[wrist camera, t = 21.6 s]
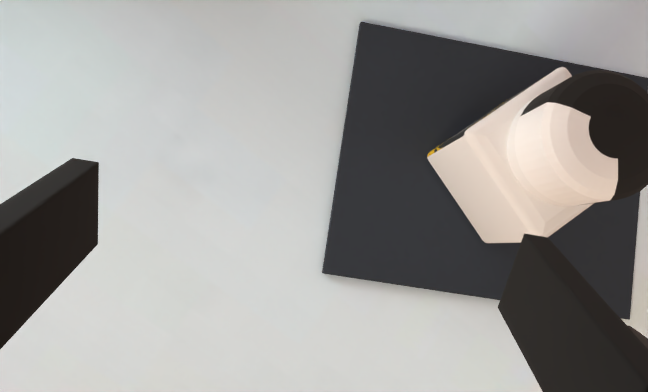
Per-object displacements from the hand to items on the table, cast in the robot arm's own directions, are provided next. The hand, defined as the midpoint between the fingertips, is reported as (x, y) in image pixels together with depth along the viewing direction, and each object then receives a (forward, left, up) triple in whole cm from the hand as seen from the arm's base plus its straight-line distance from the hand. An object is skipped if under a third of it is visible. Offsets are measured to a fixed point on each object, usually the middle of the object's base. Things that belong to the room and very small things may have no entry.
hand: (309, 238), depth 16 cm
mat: (-7, +13, -17) cm, 23 cm away
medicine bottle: (-7, +13, -17) cm, 22 cm away
